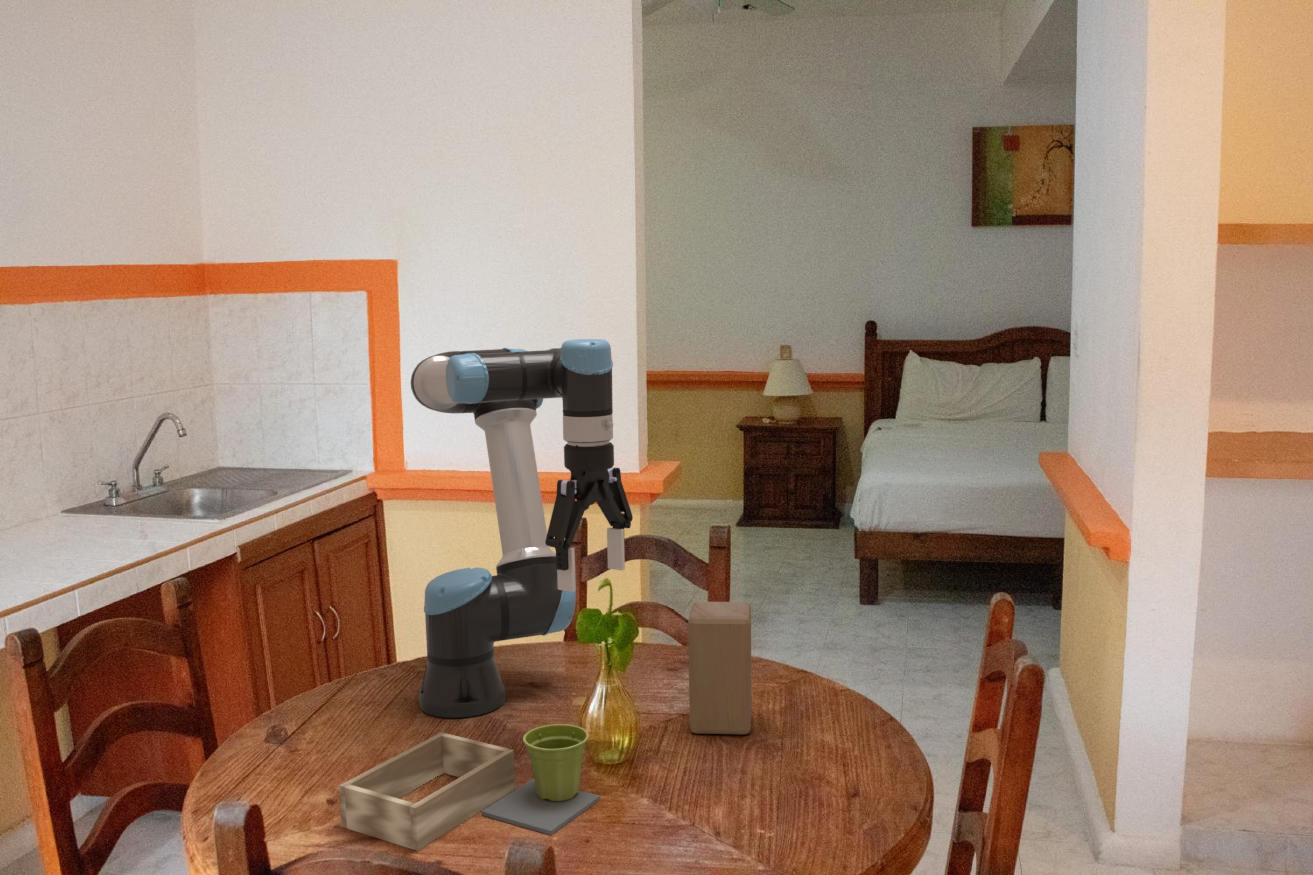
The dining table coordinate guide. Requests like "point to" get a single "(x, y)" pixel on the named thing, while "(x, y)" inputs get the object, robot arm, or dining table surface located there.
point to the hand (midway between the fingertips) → (592, 579)
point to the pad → (538, 809)
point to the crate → (416, 825)
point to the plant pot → (556, 759)
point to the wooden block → (720, 667)
